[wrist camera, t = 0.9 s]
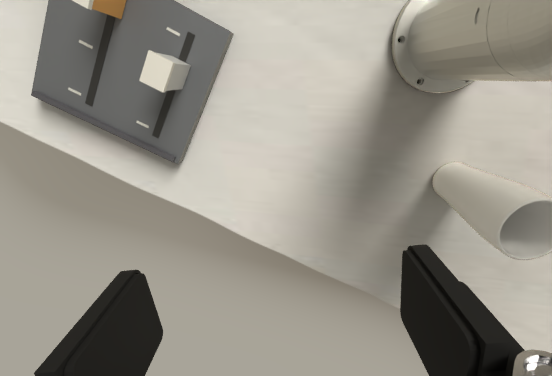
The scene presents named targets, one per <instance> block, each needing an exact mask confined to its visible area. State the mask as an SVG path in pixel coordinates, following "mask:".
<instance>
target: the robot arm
mask: <svg viewBox="0 0 552 376" xmlns="http://www.w3.org/2000/svg"><path fill="white" fill-rule="evenodd" d="M398 38H400V40H401V41H400V43H398ZM392 54H393V60H394V63H395V66H396V68H397V70H398V72H399V73H400V75H401V77H402V78H403V79H404V80H405V81H406V82H407V83H408V84H410V85H411V86H413V87H414V88H416V89H419V90H421V91H424V92H430V93H446V92H452V91H455V90H458V89H461V88H463V87H465V86H467V85H469V84H470V83H472V82H473V81H474V80H475V81H552V0H409V1H408V2H407V3H406V4H405V6H404V7H403V9H402V11H401V13H400V14H399V16H398V19H397V22H396V24H395V27H394V31H393V36H392ZM418 79H419V83H417V80H418ZM400 312H401V318H402V321H403V323H404V325H405V328H406V329H407V332H408V333H409V336H410V338H411V340H412V342H413V343H414V346H415V348H416V350H417V352H418V354H419V356H420V358H421V360H422V362H423V364H424V366H425V368H426V370H427V372H428V374H429V376H552V353H549V352H546V351H540V350H527V351H525V350H524V349H523V348H522V347H521V346H520V345H519V344H518V342H517V341H516V340H515V339H514V338H513V337H512V336H511V335H510V333H509V332H508V331H507V330H506V329H505V328H504V327H503V326H502V324H501V323H500V322H499V321H498V320H497V319H496V318H495V317H494V315H493V314H492V313H491V312H490V311H489V310H488V309H487V308H486V306H485V305H484V304H483V303H482V302H481V301H480V300H479V299H478V298H477V296H476V295H475V294H474V293H473V292H472V291H471V290H470V289H469V287H468V286H467V285H466V284H464V283H463V282H460V281H458V280H457V278H456V277H455V276H454V275H453V274H452V273H451V272H450V270H449V269H448V268H447V267H446V266H445V265H444V263H443V262H442V261H441V260H440V259H439V258H438V257H437V255H436V254H435V253H434V252H433V251H432V250H431V249H430V247H429V246H428V245H415V246H409V247H408V249H407V250H406V251H403V255H402V281H401V308H400ZM162 336H163V329H162V326H161V322H160V319H159V316H158V313H157V310H156V307H155V304H154V301H153V298H152V295H151V292H150V289H149V286H148V283H147V280H146V277H145V275H144V274H142V273H140V271H139V270H129V271H121V272H120V273H119V274H118V275H117V276H116V277H115V278H114V280H113V281H112V282H111V283H110V284H109V286H108V287H107V288H106V289H105V290H104V291H103V293H102V294H101V295H100V296H99V298H97V300H96V301H95V302H94V303H93V304H92V306H91V307H90V308H89V309H88V310H87V312H86V313H85V314H84V315H83V316H82V317H81V319H80V320H79V321H78V322H77V323H76V324H75V326H74V327H73V328H72V329H71V330H70V331H69V333H68V334H67V335H66V336H65V337H64V339H63V340H62V341H61V342H60V343H59V344H58V346H57V347H56V348H55V349H54V350H53V352H52V353H51V354H50V355H49V356H48V357H47V358H46V360H45V361H44V362H43V363H42V364H41V366H40V367H39V368H38V369H37V370H36V371H35V373H34V374H35V376H145V374H146V372H147V370H148V367H149V366H150V363H151V361H152V359H153V357H154V355H155V352H156V350H157V348H158V346H159V344H160V342H161V340H162Z"/></svg>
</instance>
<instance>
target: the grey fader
mask: <svg viewBox="0 0 552 376" xmlns="http://www.w3.org/2000/svg"><path fill="white" fill-rule="evenodd" d="M190 67H191V65H189V64H187V63H185V62H183V61H181V60H179V59H177V58H175V57H173V56H170V55H165V54H160V53H155V52H153V51H151V50H148V54H147V57H146V60H145V63H144V67H143V70H142V73H141V76H140V80H139V81H141V82H143V83H145V84H147V85H149V86H151V87H153V88H155V89H157V90H159V91H161V92H163V93H164V92H166V91H170V90H179V89H183V86H184V83H185V80H186V78H187V75H188V72H189V69H190Z"/></svg>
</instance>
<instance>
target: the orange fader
mask: <svg viewBox="0 0 552 376" xmlns="http://www.w3.org/2000/svg"><path fill="white" fill-rule="evenodd" d="M72 1H74V2H76V3H78V4H80V5H81V6H83V7H85V8H87V9H90V10H92V9H94V10H97V11H99V12H102V13H105V14H108V15H111V16H113V17H116V18H119V19H121V18H122V15H123V11H124V7H125V3H126V0H72Z"/></svg>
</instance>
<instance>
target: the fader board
mask: <svg viewBox="0 0 552 376" xmlns="http://www.w3.org/2000/svg"><path fill="white" fill-rule="evenodd" d="M232 36H233V33H232V32H230V31H229V30H227V29H225V28H223V27H221V26H220V25H218V24H216V23H214V22H212V21H210V20H209V19H207V18H205V17H203V16H201V15H200V14H198V13H196V12H194V11H192V10H190V9H189V8H187V7H185V6H183V5H181V4H179V3H178V2H176V1H174V0H126V3H125V7H124V11H123V15H122V18H121V19H119V18H116V17H113V16H111V15H108V14H105V13H102V12H99V11H97V10H94V9H92V10H90V9H87V8H85V7H83V6H81V5H80V4H78V3H76V2H74V1H72V0H49V1H48V6H47V12H46V17H45V23H44V28H43V34H42V39H41V45H40V50H39V56H38V61H37V66H36V72H35V77H34V83H33V88H32V94H31V96H34V97H36V98H38V99H40V100H42V101H44V102H46V103H48V104H50V105H53V106H55V107H57V108H59V109H61V110H63V111H65V112H67V113H70V114H72V115H74V116H76V117H78V118H80V119H82V120H84V121H87V122H89V123H91V124H93V125H95V126H97V127H99V128H101V129H103V130H106V131H108V132H110V133H112V134H114V135H116V136H118V137H120V138H123V139H125V140H127V141H129V142H131V143H133V144H135V145H137V146H140V147H142V148H144V149H146V150H148V151H150V152H152V153H154V154H156V155H159V156H161V157H163V158H165V159H167V160H169V161H171V162H174V163H176V164H179V163H180V162H182V161H183V159H184V157H185V154H186V152H187V149H188V147H189V144H190V142H191V139H192V137H193V134H194V132H195V129H196V127H197V124H198V122H199V119H200V117H201V114H202V112H203V109H204V107H205V104H206V102H207V99H208V97H209V94H210V92H211V89H212V87H213V84H214V82H215V79H216V77H217V74H218V72H219V69H220V67H221V64H222V62H223V59H224V57H225V54H226V52H227V49H228V46H229V44H230V41H231V39H232ZM148 50H151V51H153V52H155V53H160V54H165V55H170V56H173V57H175V58H177V59H179V60H181V61H183V62H185V63H187V64H189V65H191V67H190V69H189V72H188V75H187V78H186V80H185V83H184V86H183V89H179V90H170V91H166V92H164V93H163V92H161V91H159V90H157V89H155V88H153V87H151V86H149V85H147V84H145V83H143V82H141V81H139V80H140V76H141V73H142V70H143V67H144V63H145V60H146V57H147V54H148Z"/></svg>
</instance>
